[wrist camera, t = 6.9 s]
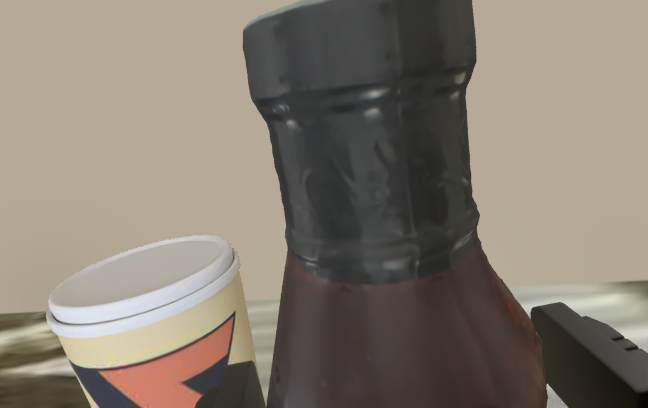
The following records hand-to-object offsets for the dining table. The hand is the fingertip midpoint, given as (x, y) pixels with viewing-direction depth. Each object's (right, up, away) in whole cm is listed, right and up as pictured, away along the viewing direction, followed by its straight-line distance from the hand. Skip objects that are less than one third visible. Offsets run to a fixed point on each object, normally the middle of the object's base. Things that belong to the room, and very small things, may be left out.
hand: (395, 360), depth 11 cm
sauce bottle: (+2, -11, +1) cm, 11 cm away
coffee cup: (-9, -10, +12) cm, 18 cm away
